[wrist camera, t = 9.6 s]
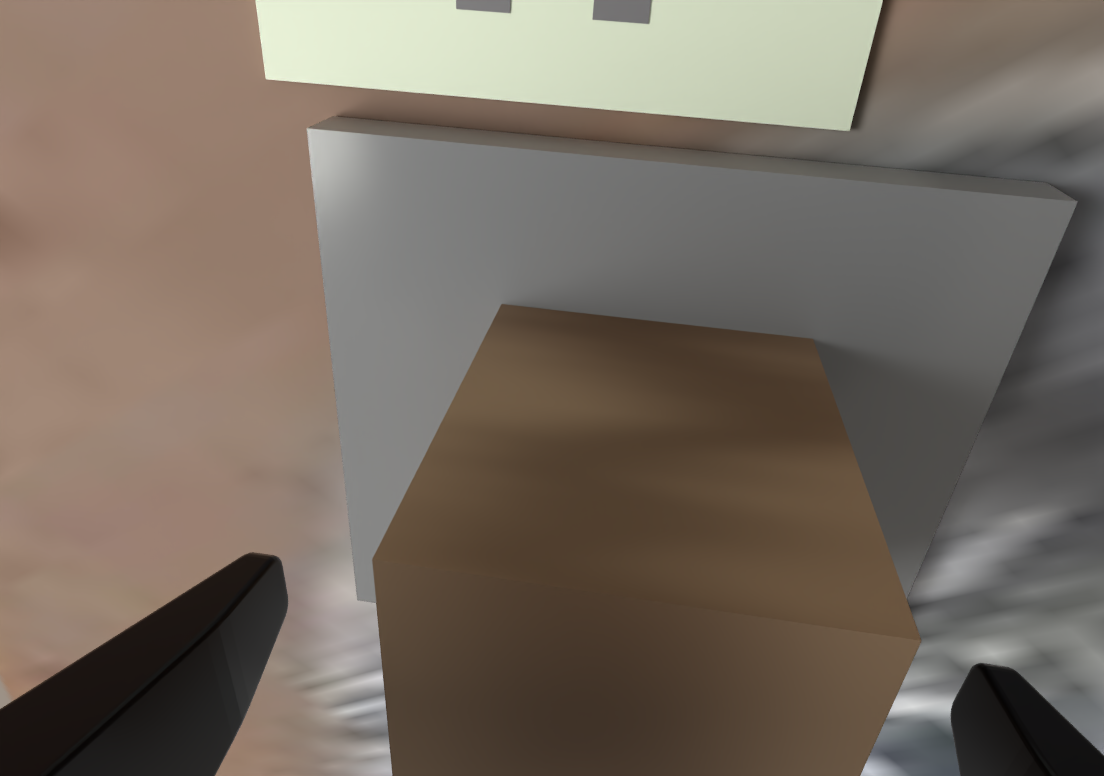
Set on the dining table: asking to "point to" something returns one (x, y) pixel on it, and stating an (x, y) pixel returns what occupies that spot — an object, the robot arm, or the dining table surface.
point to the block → (638, 563)
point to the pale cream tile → (589, 53)
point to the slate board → (671, 286)
